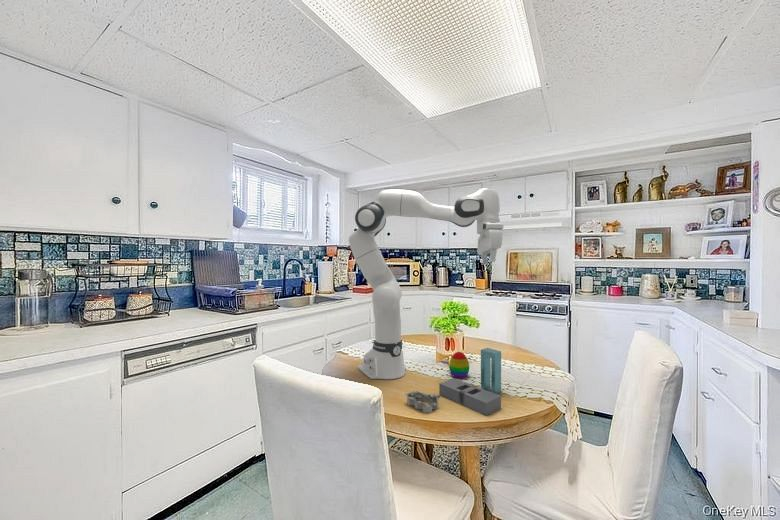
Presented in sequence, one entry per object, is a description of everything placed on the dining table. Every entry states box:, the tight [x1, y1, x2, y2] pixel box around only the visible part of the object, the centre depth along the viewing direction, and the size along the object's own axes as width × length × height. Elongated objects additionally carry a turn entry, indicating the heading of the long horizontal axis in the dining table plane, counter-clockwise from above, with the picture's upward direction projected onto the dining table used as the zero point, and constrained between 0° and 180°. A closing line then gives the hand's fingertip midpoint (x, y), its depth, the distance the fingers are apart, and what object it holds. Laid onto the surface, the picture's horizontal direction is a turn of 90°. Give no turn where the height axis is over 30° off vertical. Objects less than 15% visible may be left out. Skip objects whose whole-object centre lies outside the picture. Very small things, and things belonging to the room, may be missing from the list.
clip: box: [480, 347, 502, 395], centre depth 121 cm, size 6×4×15 cm, turn 38°
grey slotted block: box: [438, 377, 502, 416], centre depth 113 cm, size 20×8×4 cm, turn 38°
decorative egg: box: [448, 351, 470, 379], centre depth 136 cm, size 8×8×10 cm
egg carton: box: [405, 390, 441, 413], centre depth 111 cm, size 11×8×4 cm
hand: (488, 263), depth 129 cm, fingers open, 8 cm apart
